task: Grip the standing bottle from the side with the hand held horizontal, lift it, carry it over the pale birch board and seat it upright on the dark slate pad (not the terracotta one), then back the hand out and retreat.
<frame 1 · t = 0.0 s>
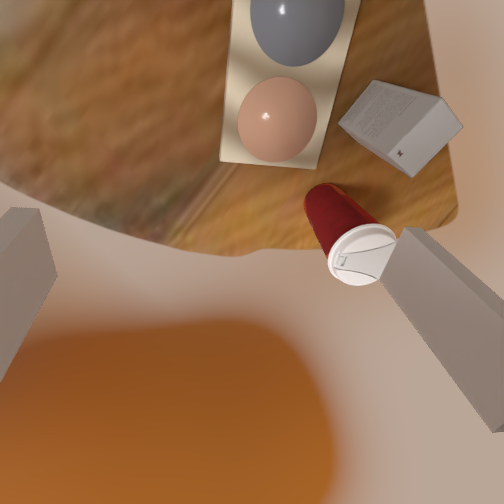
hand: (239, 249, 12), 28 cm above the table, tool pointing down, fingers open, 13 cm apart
birch board: (282, 69, 33), on the table
terracotta pad: (277, 122, 35), resting on birch board
slate pad: (297, 11, 29), resting on birch board
paper cup: (322, 200, 44), on the table
skincare box: (364, 111, 37), on the table
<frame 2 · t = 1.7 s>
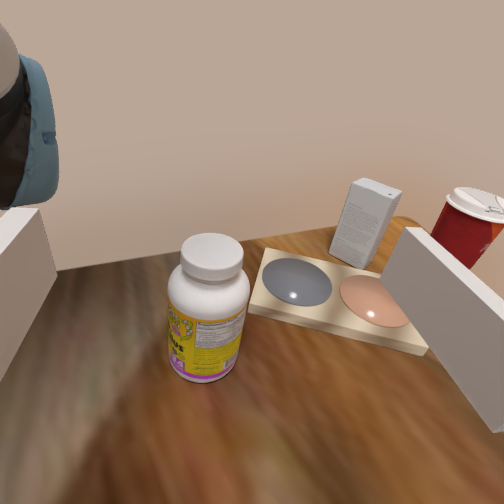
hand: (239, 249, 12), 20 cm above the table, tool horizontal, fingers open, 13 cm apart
supplement bottle: (203, 356, 31), on the table
birch board: (332, 298, 40), on the table
terracotta pad: (375, 299, 39), resting on birch board
slate pad: (296, 281, 40), resting on birch board
paper cup: (429, 284, 46), on the table
skincare box: (349, 258, 49), on the table
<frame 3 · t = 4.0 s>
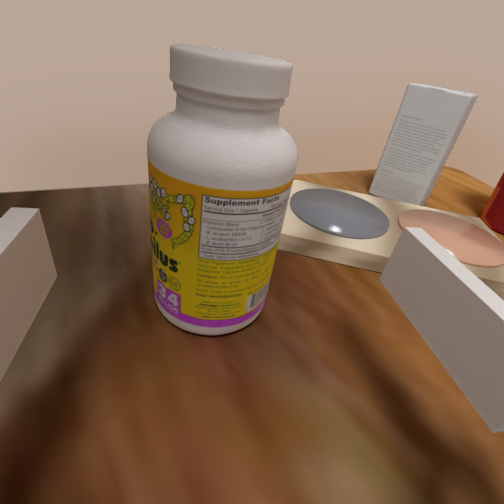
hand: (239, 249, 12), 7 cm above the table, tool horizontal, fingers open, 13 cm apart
supplement bottle: (210, 300, 19), on the table
birch board: (386, 238, 29), on the table
terracotta pad: (449, 236, 28), resting on birch board
slate pad: (338, 212, 28), resting on birch board
skincare box: (395, 199, 38), on the table
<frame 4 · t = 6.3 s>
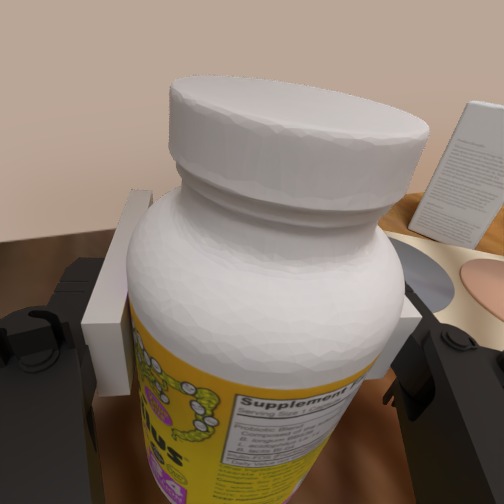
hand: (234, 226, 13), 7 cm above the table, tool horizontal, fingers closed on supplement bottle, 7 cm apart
supplement bottle: (228, 434, 13), on the table, touching gripper
birch board: (445, 299, 23), on the table
slate pad: (384, 267, 22), resting on birch board
skincare box: (439, 236, 32), on the table
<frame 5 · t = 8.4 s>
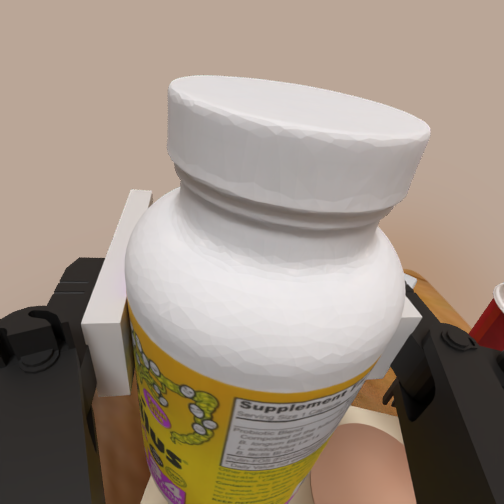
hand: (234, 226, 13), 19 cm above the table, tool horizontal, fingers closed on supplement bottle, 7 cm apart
supplement bottle: (228, 435, 13), point 12 cm above the table, touching gripper
birch board: (297, 482, 22), on the table
terracotta pad: (374, 492, 21), resting on birch board
paper cup: (458, 412, 29), on the table
when the fingers open (10 cm above the table, at t = 10.7 s): supplement bottle drops 1 cm, resting on slate pad.
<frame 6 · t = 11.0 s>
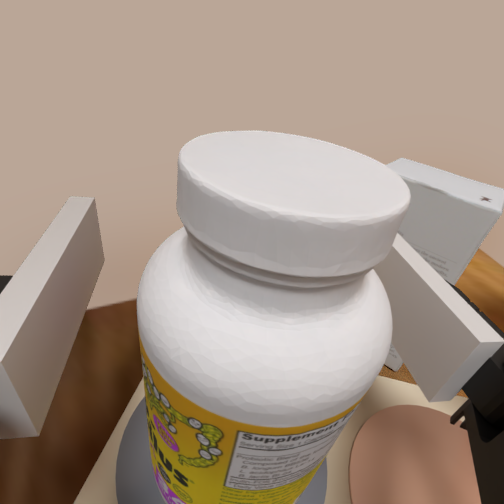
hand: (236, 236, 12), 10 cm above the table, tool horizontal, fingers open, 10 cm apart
supplement bottle: (230, 448, 14), point 2 cm above the table, touching slate pad
birch board: (327, 492, 14), on the table
slate pad: (225, 447, 14), resting on birch board
skincare box: (364, 332, 23), on the table
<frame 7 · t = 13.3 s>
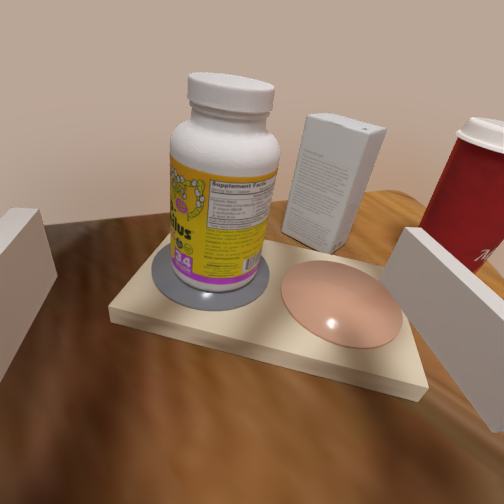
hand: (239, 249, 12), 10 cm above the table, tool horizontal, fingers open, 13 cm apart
supplement bottle: (214, 268, 24), point 2 cm above the table, touching slate pad
birch board: (271, 298, 25), on the table
terracotta pad: (339, 299, 23), resting on birch board
slate pad: (212, 269, 24), resting on birch board
paper cup: (430, 276, 31), on the table
skincare box: (312, 239, 34), on the table
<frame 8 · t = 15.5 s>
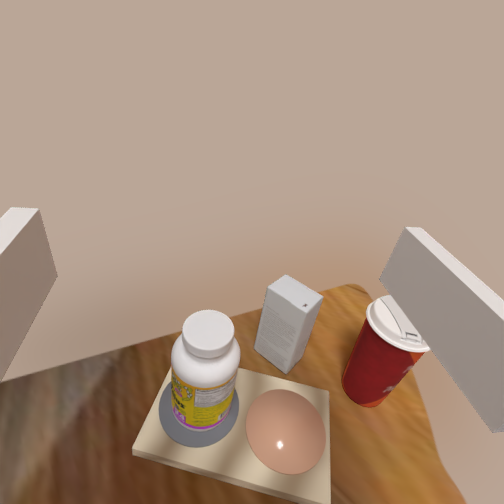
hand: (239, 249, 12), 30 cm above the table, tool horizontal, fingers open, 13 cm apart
supplement bottle: (201, 405, 35), point 2 cm above the table, touching slate pad
birch board: (240, 423, 36), on the table
terracotta pad: (285, 428, 35), resting on birch board
slate pad: (199, 404, 36), resting on birch board
paper cup: (361, 387, 42), on the table
skincare box: (277, 354, 45), on the table
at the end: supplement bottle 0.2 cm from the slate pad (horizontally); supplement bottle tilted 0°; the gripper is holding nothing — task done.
